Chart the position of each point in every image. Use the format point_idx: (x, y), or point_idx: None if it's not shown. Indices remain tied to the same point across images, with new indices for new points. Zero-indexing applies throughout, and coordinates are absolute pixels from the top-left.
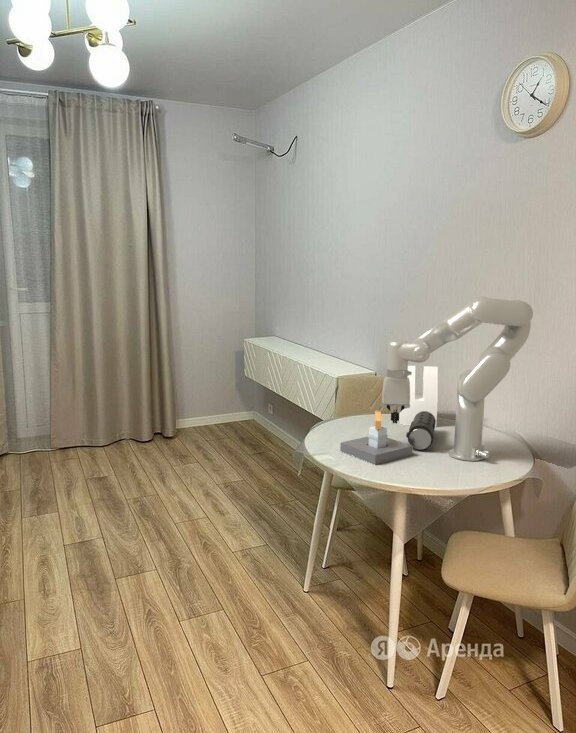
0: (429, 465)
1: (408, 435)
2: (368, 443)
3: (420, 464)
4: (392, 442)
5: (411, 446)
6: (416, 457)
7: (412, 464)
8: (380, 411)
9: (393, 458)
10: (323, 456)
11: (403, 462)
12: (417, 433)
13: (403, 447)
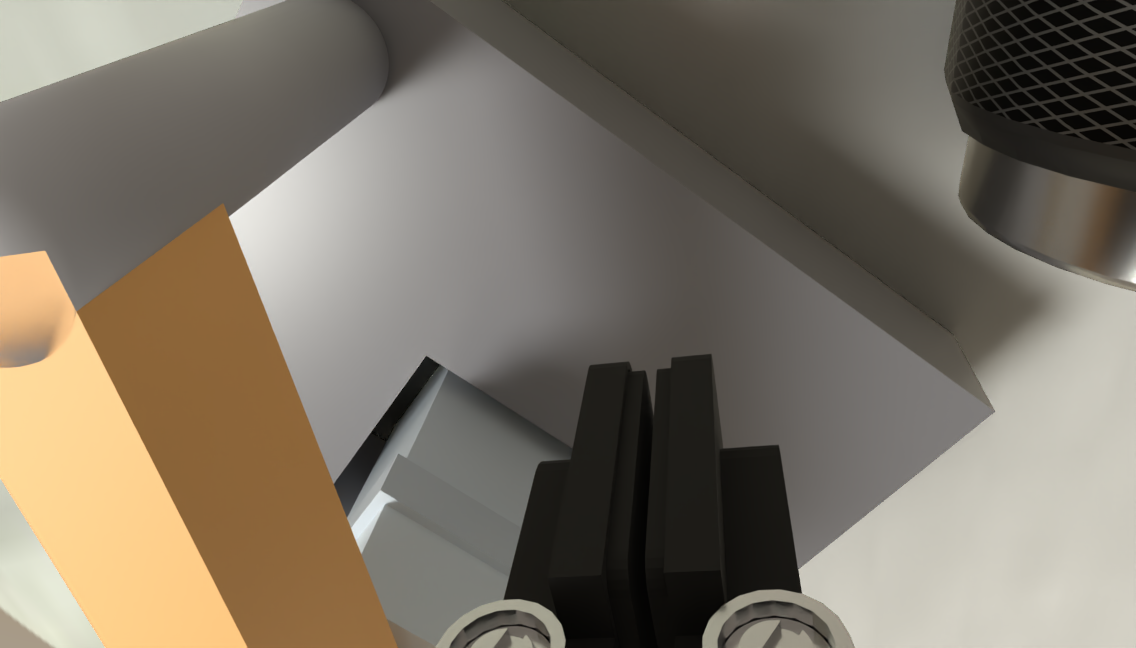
0: (1126, 613)
1: (976, 138)
2: (338, 461)
3: (1020, 604)
4: (659, 327)
5: (972, 423)
6: (1005, 403)
7: (925, 619)
8: (54, 291)
9: None
10: (42, 587)
11: (825, 586)
12: None
13: (841, 507)
